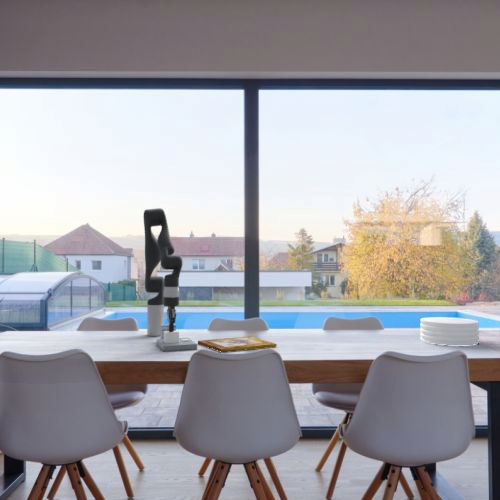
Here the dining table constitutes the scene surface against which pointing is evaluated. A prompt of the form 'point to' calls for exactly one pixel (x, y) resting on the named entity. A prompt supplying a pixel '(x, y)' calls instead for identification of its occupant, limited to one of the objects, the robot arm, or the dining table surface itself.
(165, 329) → the medicine box
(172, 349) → the socket panel
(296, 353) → the dining table surface
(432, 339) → the plate stack
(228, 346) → the picture frame
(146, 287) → the robot arm
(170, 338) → the plug
